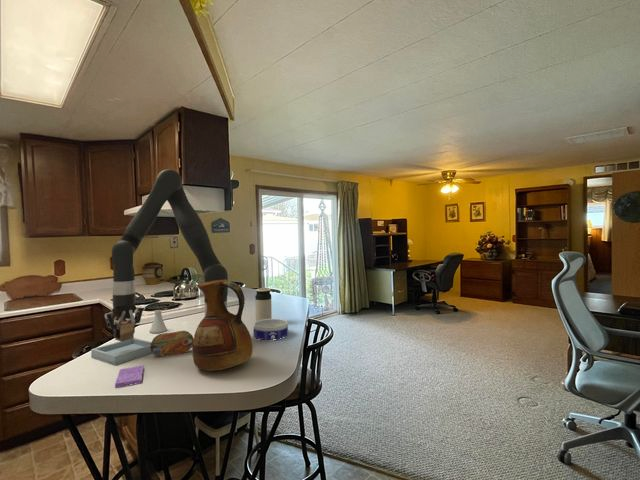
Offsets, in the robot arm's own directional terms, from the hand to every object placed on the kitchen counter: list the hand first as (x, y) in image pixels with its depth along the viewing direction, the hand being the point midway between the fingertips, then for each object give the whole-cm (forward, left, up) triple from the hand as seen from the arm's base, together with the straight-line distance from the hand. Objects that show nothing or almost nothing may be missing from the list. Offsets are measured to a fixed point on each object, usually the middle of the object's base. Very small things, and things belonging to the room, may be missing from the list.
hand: (124, 336), depth 124 cm
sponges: (-23, +11, -7) cm, 27 cm away
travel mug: (-20, -58, -7) cm, 62 cm away
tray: (0, 0, -7) cm, 7 cm away
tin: (-16, -9, -7) cm, 20 cm away
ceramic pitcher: (-42, -10, -7) cm, 44 cm away
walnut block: (0, 0, -1) cm, 1 cm away
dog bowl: (-35, -45, -7) cm, 58 cm away
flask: (+17, -25, -7) cm, 31 cm away
